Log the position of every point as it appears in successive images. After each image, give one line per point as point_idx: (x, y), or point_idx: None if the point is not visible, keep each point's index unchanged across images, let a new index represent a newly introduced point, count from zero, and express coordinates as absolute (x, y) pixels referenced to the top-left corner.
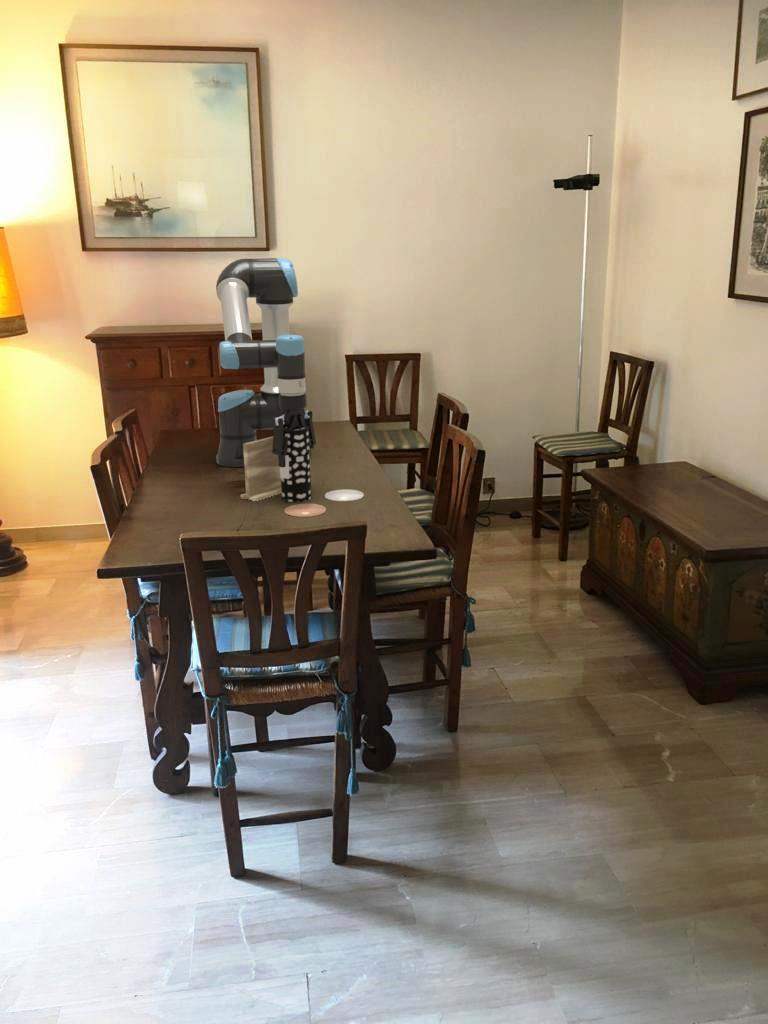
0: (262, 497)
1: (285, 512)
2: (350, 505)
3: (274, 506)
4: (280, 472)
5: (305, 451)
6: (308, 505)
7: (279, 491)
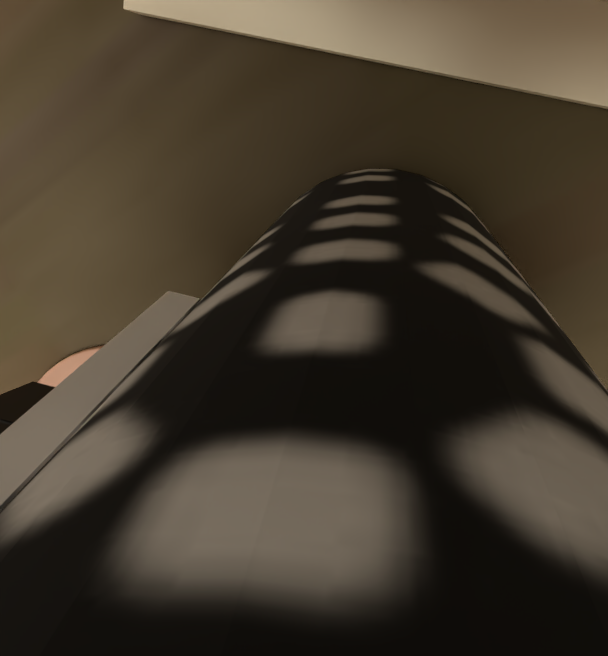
0: (213, 27)
1: (41, 378)
2: None
3: (120, 238)
4: (138, 322)
5: None
6: None
7: (454, 76)
